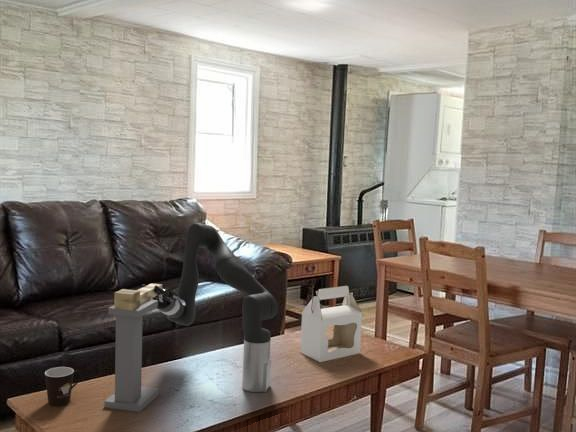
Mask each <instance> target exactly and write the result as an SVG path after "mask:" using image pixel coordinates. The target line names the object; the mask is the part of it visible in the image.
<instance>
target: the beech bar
mask: <svg viewBox="0 0 576 432" xmlns="http://www.w3.org/2000/svg"><path fill="white" fill-rule="evenodd" d="M155 286H158V287H159V288H162V289H163V284H162V283H161V284H160V283H149V284H148V285H146V286H145V287H143V288H141V287H140V288H138V289H136V290H135V289H127V288H122V289H120V290H118V291H117V290H116V291H114V296H113V297H114V302H113V303H114V304H113V306H114V309H124V310H134V309H136V308H138V307H140V304H142V303H144V302H146V301H148V300H151V298H153V297H155V296H157V294H156V293H155V292H154V287H155Z"/></svg>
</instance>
